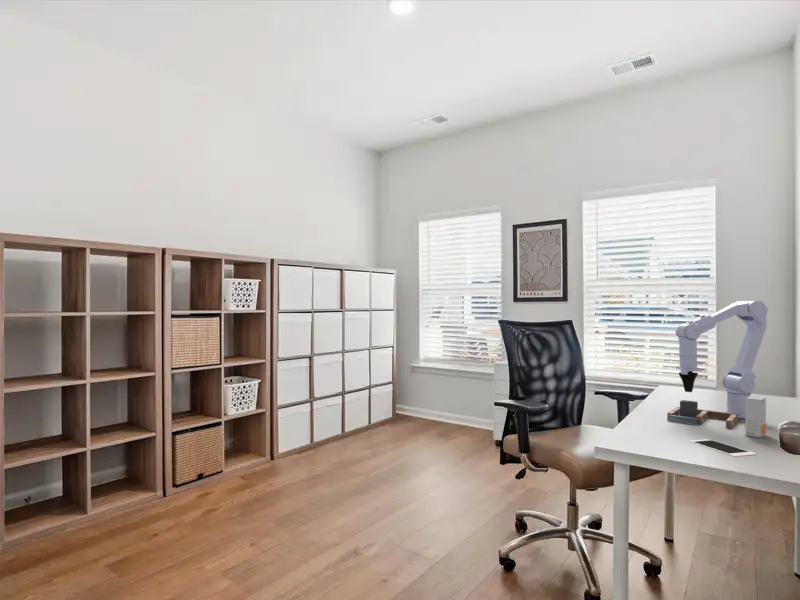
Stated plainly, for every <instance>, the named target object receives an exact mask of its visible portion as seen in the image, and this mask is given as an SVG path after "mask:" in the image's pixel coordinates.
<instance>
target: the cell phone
mask: <svg viewBox="0 0 800 600" xmlns="http://www.w3.org/2000/svg"><path fill="white" fill-rule="evenodd" d="M688 442H689V443H692V444H696V445H698V446H701V447H705V448H707V449H710V450H713V451H716V452H719V453H721V454H725V455H727V456H731V457H734V458H735V457H737V458H738V457H747V456H748V457H749V456H757V455H758V454H757V453H755V452H753V451H750V450H747V449H743V448H739V447H736V446H733V445H731V444H727V443H723V442H720V441H718V440H717V441H716V440H713V439H709V438H708V439H707V438H706V439H694V440H688Z"/></svg>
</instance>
